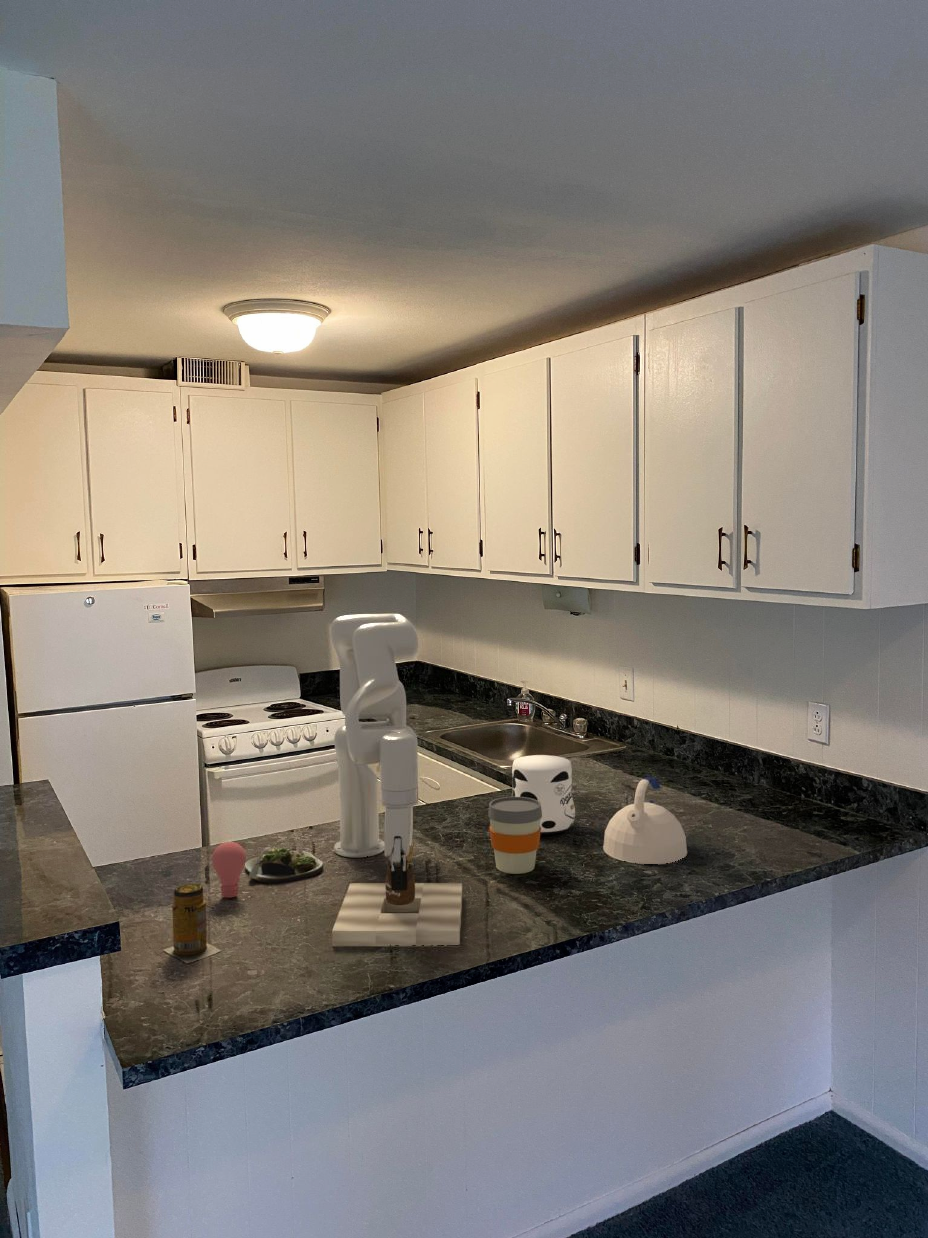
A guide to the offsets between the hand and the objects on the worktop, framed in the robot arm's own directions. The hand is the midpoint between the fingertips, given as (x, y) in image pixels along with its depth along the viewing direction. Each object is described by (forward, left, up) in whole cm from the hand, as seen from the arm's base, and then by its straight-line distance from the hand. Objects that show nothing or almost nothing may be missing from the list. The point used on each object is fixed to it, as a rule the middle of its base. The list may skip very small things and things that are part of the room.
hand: (400, 883), depth 185 cm
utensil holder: (0, 0, -4) cm, 4 cm away
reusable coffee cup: (-30, +24, -8) cm, 39 cm away
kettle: (-41, +56, -8) cm, 70 cm away
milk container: (-58, +32, -8) cm, 67 cm away
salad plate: (-28, -30, -8) cm, 42 cm away
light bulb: (-12, -38, -8) cm, 41 cm away
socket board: (0, 0, -8) cm, 8 cm away
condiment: (+14, -38, -8) cm, 41 cm away
